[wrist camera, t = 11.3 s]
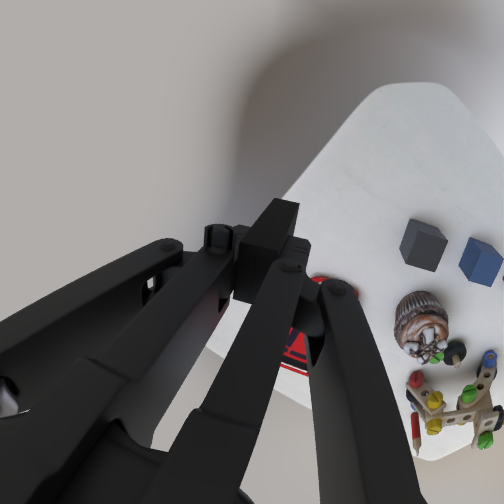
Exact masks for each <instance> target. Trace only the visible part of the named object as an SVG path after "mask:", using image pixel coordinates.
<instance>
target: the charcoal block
mask: <svg viewBox="0 0 504 504" xmlns="http://www.w3.org/2000/svg"><path fill="white" fill-rule="evenodd" d="M447 242H448V240H447V239H446V238H445V236H444V235H443V234H442V233H441V231H440V230H439V229H438V228H437V227H434V226H431V225H428V224H425V223H422V222H419V221H416V220H413V219H410V220H409V223H408V226H407V228H406V231H405V234H404V237H403V240H402V243H401V245H400V248H399V249H400V252H401V254H402V256H403V259H404V261H405V264H408V265H412V266H415V267H418V268H422V269H425V270H429V271H432V272H435V271H436V269H437V266H438V264H439V262H440V259H441V257H442V255H443V252H444V250H445V247H446V245H447Z"/></svg>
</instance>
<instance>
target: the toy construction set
mask: <svg viewBox="0 0 504 504" xmlns="http://www.w3.org/2000/svg"><path fill="white" fill-rule="evenodd" d="M465 356H466V348H465V345H464V344H463V343H462V342H452V343H450V344H448V346H447V348H445V350H444V352H441V353H438V354H436V355H435V356H434V358H433V359H431V360H430V361H429V362H430V363H432V364H436V363H439V362H440V360H444V362H445V364H447V365H454V368H459V367H460V365H461V361H462V360H463V359H464V358H465ZM496 359H497V354H496V353H495V352H494V351H489V352H486V353H485V356H484V359H483V363H482V364H481V365H480V366H479V368H478V370H477V380H476V381H475V383H474V384H473V385H467V386H466V387H465V388H464V389H463V392H462V394H461V396H459V397H458V401H457V406H456V408H457V410H455V411H450V412H443V408H445V407H446V403H445V402H444V401H443V400H442V399H443V395H442V393H441V392H439V391H434V390H433V389H432V388H431V387H430V386H429V385H428V384H427V383H426V382H425V381H424V380H423V374H422V373H421V372H417V373H416V372H414V373H412V374H411V375H410V381H409V382H407V383H406V387H407V390H406V397H407V399H408V400H409V401H410V402H411V407H412V408H413V410H414V411H415V410H416V411H417V412H418V413H413V414H411V426H412V439H413V448H414V449H415V450H416V452H417V456H418V454H419V448H420V447H421V435H420V425H419V416H418V414H419V415H420V417H421V418H422V419H423V421H424V422H425V429H427V434H428V435H436V434H438V433H439V432H440V431H441V429H442V428H443V427H444V426H450V425H456V424H458V425H464V424H465V423H467V422H472V421H473V423H474V434H475V436H474V438H473V441H472V444H471V448H472V449H473V448H479V449H481V450H482V449H483V448H484V449H486V448H489V447H490V446H491V445H492V444H493V434H492V432H493V431H496V430H499V429H500V428H501V426H502V425H503V424H504V410H503V408H502V406H501V405H498V406H494V408H493V405H492V400H491V395H490V391H489V389H490V386H491V384H492V381H493V380H494V379H495V377H496V374H497V368H496V365H497V364H496ZM426 393H427V394H428V395H426ZM450 418H452V419H450Z"/></svg>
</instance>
